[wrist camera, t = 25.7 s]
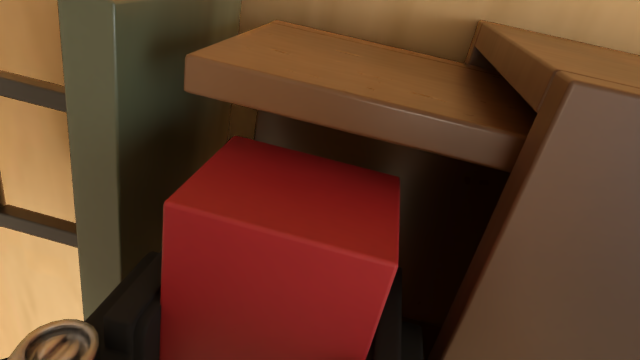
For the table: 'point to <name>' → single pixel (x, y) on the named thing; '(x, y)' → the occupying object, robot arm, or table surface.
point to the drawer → (267, 131)
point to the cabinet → (558, 211)
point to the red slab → (276, 257)
